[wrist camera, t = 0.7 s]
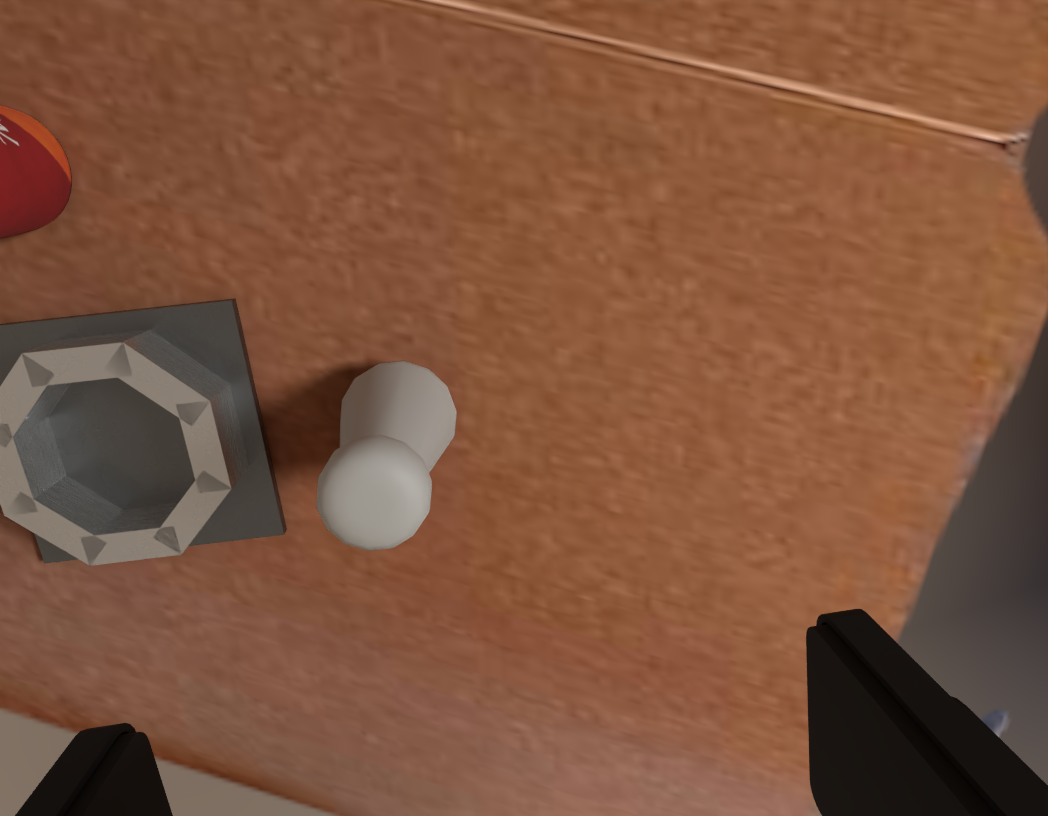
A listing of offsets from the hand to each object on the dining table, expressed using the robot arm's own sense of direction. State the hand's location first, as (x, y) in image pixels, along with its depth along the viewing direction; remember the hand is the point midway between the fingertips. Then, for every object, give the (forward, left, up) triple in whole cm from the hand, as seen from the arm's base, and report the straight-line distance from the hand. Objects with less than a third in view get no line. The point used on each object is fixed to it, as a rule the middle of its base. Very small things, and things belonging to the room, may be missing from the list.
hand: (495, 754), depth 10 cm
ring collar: (+3, -18, -29) cm, 35 cm away
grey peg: (+3, -4, -29) cm, 30 cm away
